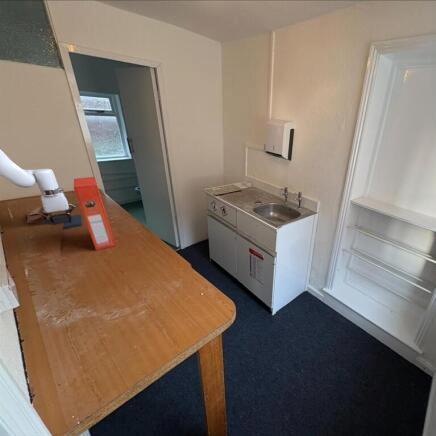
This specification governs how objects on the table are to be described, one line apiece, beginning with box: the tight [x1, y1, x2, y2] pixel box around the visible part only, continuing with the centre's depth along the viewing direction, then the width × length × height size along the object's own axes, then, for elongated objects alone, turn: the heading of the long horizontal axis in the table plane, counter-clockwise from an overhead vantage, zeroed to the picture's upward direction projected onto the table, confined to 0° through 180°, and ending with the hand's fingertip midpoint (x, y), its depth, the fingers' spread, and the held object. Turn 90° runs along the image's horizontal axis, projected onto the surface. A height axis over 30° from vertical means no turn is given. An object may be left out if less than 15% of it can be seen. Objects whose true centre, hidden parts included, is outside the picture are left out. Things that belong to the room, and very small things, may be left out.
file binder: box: [73, 176, 116, 251], centre depth 114 cm, size 8×17×32 cm, turn 40°
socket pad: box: [43, 213, 83, 230], centre depth 135 cm, size 16×16×2 cm
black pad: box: [52, 212, 69, 226], centre depth 134 cm, size 6×6×4 cm
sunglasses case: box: [26, 206, 48, 225], centre depth 141 cm, size 18×7×7 cm, turn 48°
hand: (62, 221), depth 135 cm, fingers closed on black pad, 5 cm apart
